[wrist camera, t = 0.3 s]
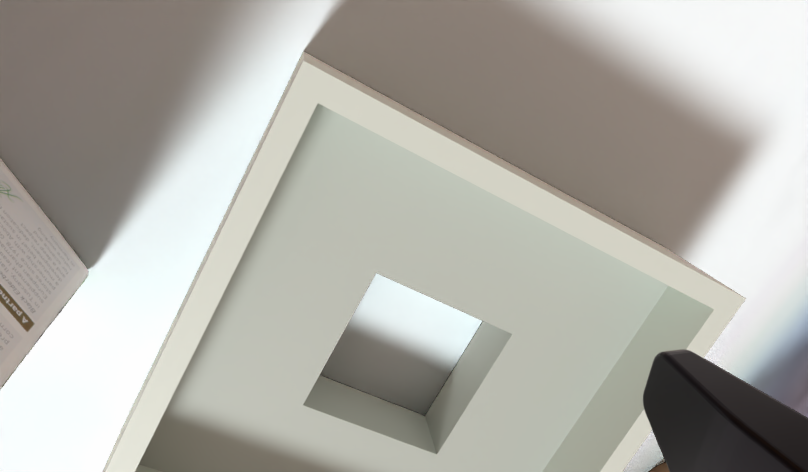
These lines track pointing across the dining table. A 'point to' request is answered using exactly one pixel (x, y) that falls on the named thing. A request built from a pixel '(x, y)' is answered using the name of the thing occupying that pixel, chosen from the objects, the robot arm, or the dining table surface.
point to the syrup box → (30, 273)
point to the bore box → (423, 272)
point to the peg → (660, 468)
